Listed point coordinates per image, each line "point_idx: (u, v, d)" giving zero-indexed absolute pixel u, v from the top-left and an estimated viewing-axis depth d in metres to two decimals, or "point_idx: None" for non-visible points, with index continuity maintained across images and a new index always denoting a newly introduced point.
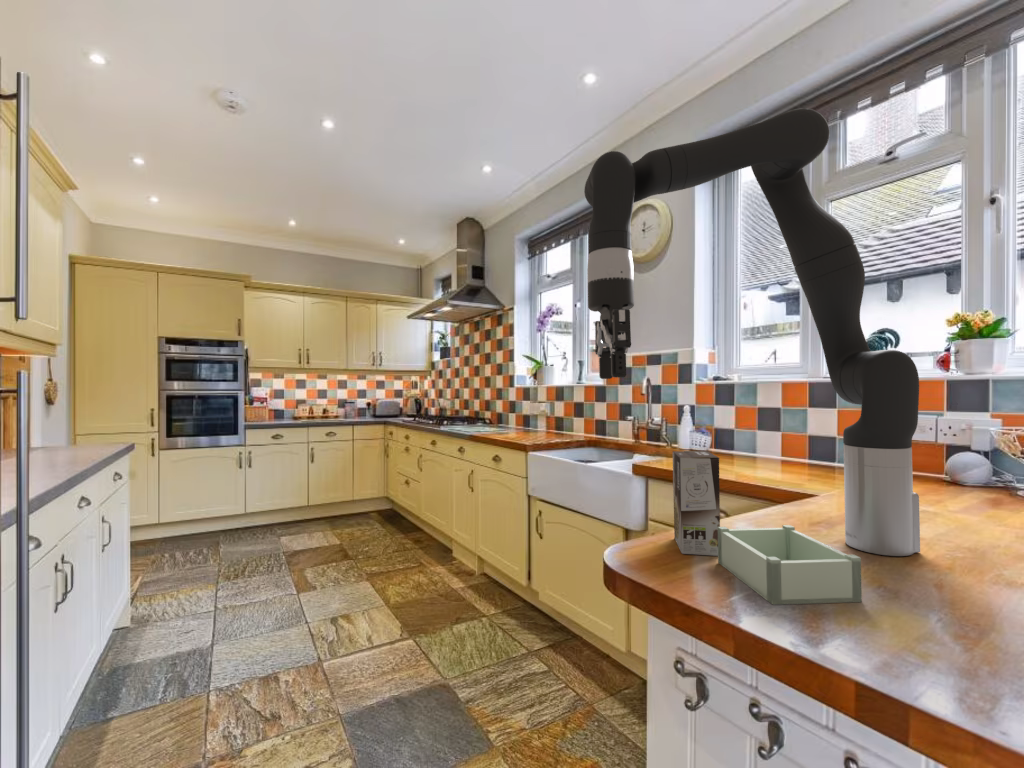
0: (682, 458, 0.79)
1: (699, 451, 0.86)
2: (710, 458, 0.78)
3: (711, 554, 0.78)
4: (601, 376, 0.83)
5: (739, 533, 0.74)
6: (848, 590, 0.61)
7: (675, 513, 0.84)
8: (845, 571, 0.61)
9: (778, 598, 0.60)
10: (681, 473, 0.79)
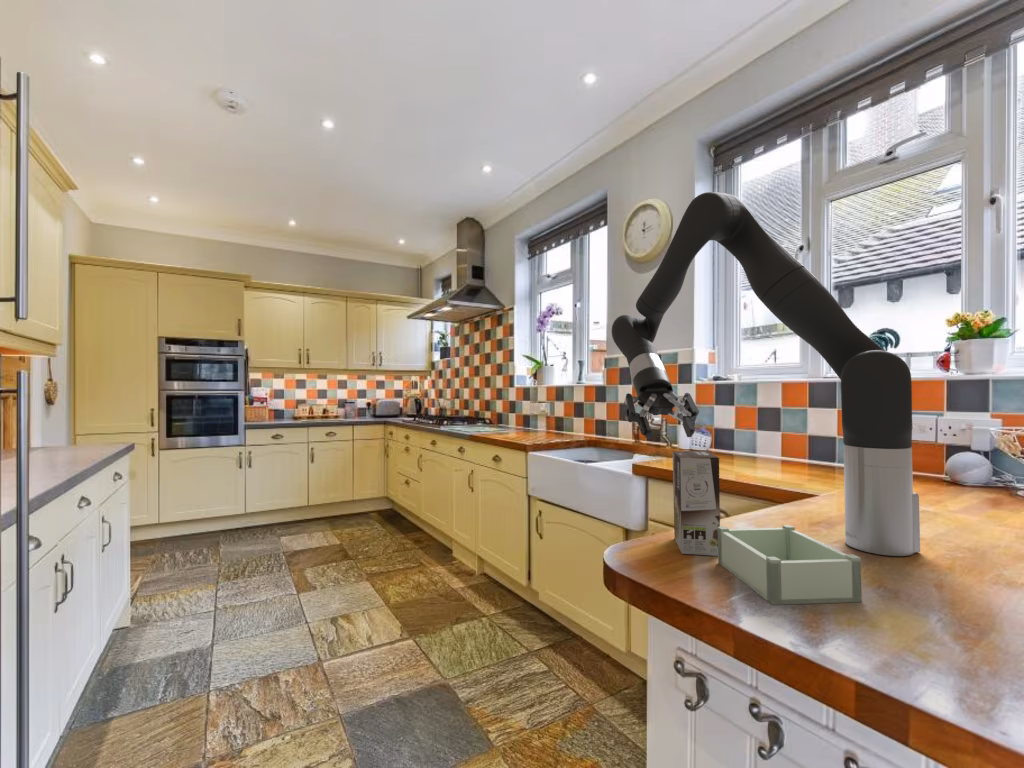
0: (682, 458, 0.79)
1: (699, 451, 0.86)
2: (710, 458, 0.78)
3: (711, 554, 0.78)
4: (687, 435, 0.95)
5: (739, 533, 0.74)
6: (848, 590, 0.61)
7: (675, 513, 0.84)
8: (845, 571, 0.61)
9: (778, 598, 0.60)
10: (681, 473, 0.79)
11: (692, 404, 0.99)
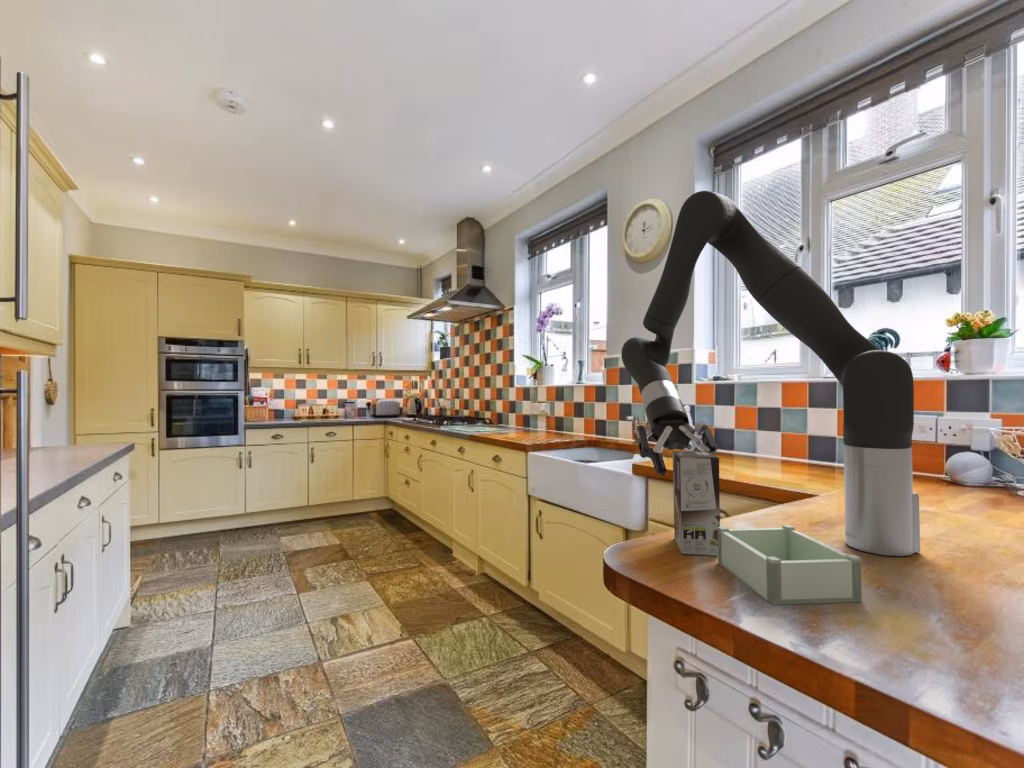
0: (682, 458, 0.79)
1: (699, 451, 0.86)
2: (710, 458, 0.78)
3: (711, 554, 0.78)
4: None
5: (739, 533, 0.74)
6: (848, 590, 0.61)
7: (675, 513, 0.84)
8: (845, 571, 0.61)
9: (778, 598, 0.60)
10: (681, 473, 0.79)
11: (711, 438, 0.91)
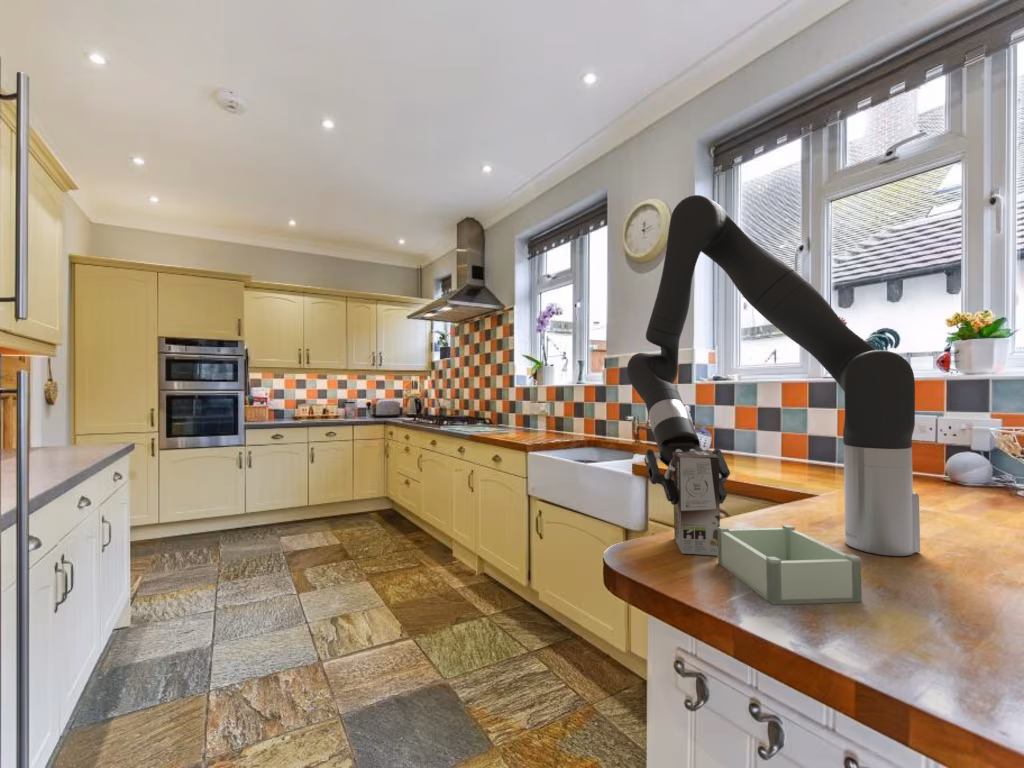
0: (682, 458, 0.79)
1: (699, 451, 0.86)
2: (710, 458, 0.78)
3: (711, 554, 0.78)
4: None
5: (739, 533, 0.74)
6: (848, 590, 0.61)
7: (675, 513, 0.84)
8: (845, 571, 0.61)
9: (778, 598, 0.60)
10: (681, 473, 0.79)
11: (723, 463, 0.85)
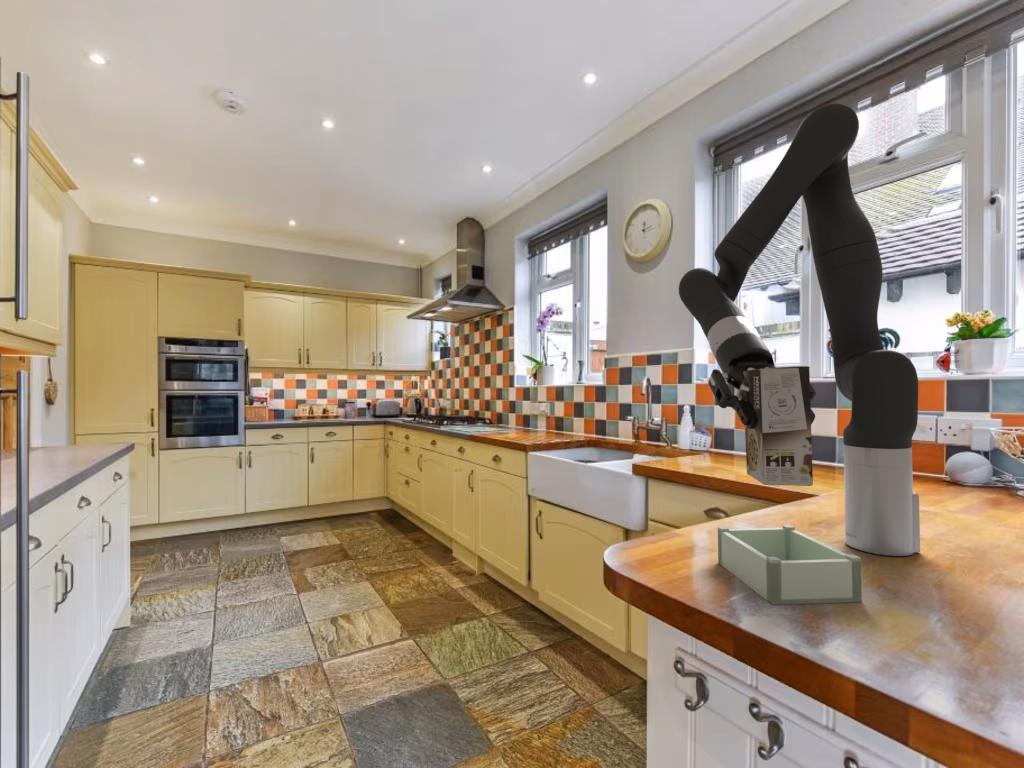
0: (763, 369, 0.65)
1: None
2: (798, 367, 0.64)
3: (802, 484, 0.64)
4: None
5: (739, 533, 0.74)
6: (848, 590, 0.61)
7: (750, 442, 0.70)
8: (845, 571, 0.61)
9: (778, 598, 0.60)
10: (762, 387, 0.65)
11: None
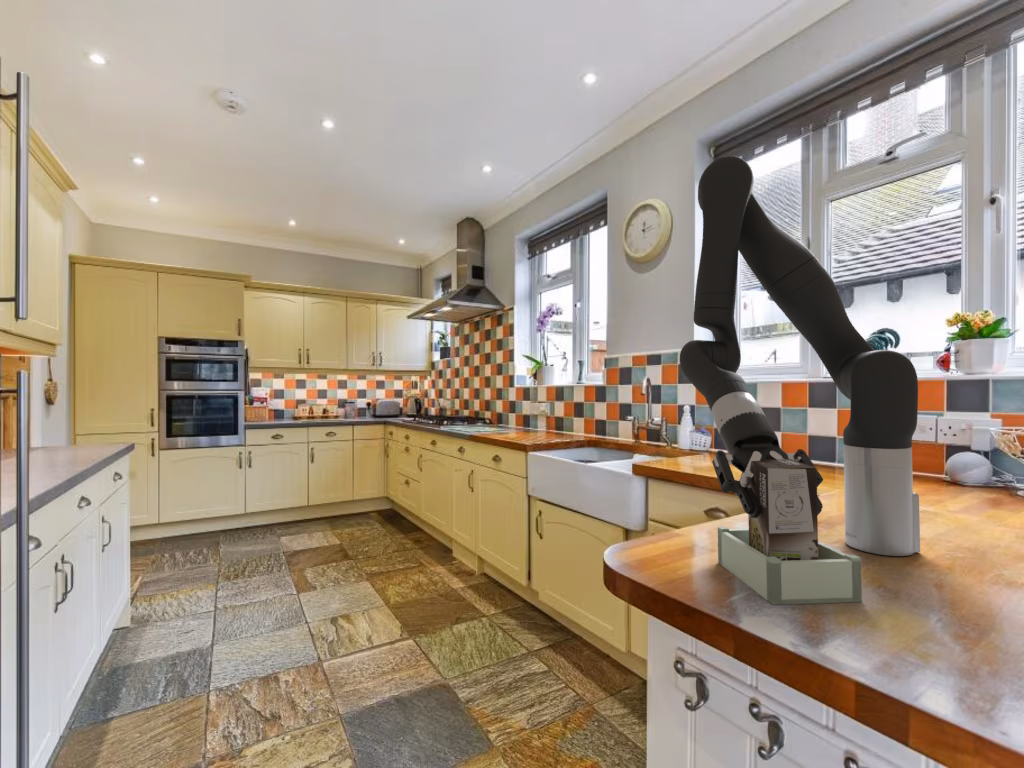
0: (770, 469, 0.64)
1: (781, 459, 0.71)
2: (806, 469, 0.64)
3: None
4: None
5: (739, 533, 0.74)
6: (848, 590, 0.61)
7: (754, 534, 0.70)
8: (845, 571, 0.61)
9: (778, 598, 0.60)
10: (769, 487, 0.64)
11: None
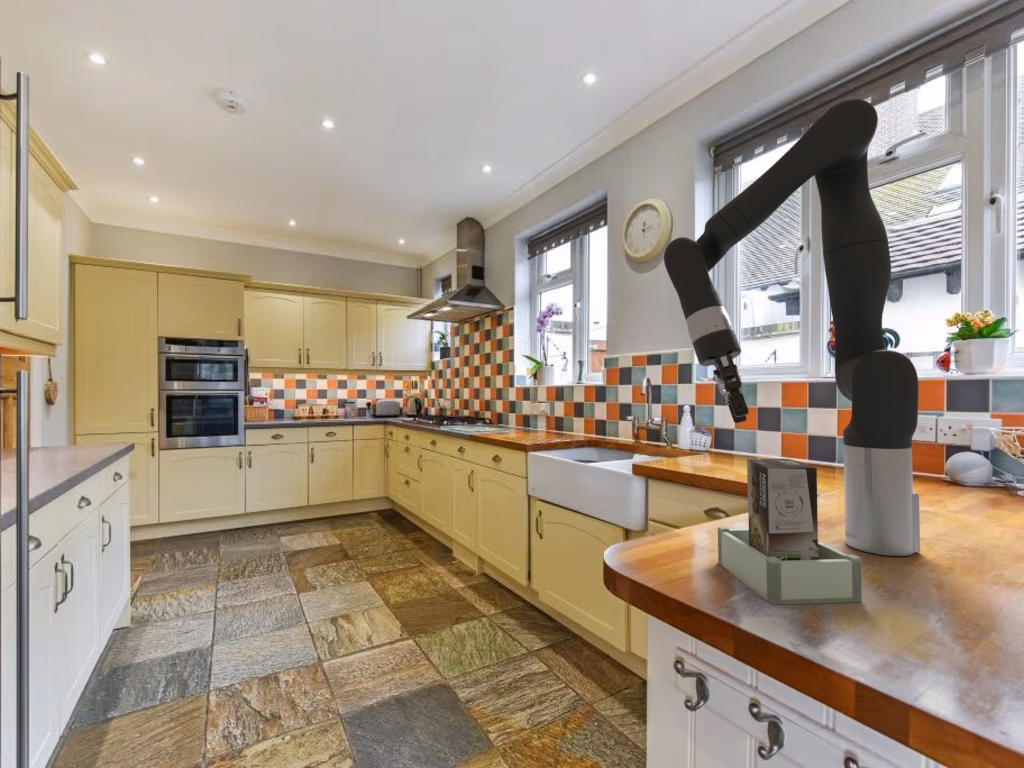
0: (770, 469, 0.64)
1: (781, 459, 0.71)
2: (806, 469, 0.64)
3: None
4: (735, 421, 0.88)
5: (739, 533, 0.74)
6: (848, 590, 0.61)
7: (754, 534, 0.70)
8: (845, 571, 0.61)
9: (778, 598, 0.60)
10: (769, 487, 0.64)
11: None
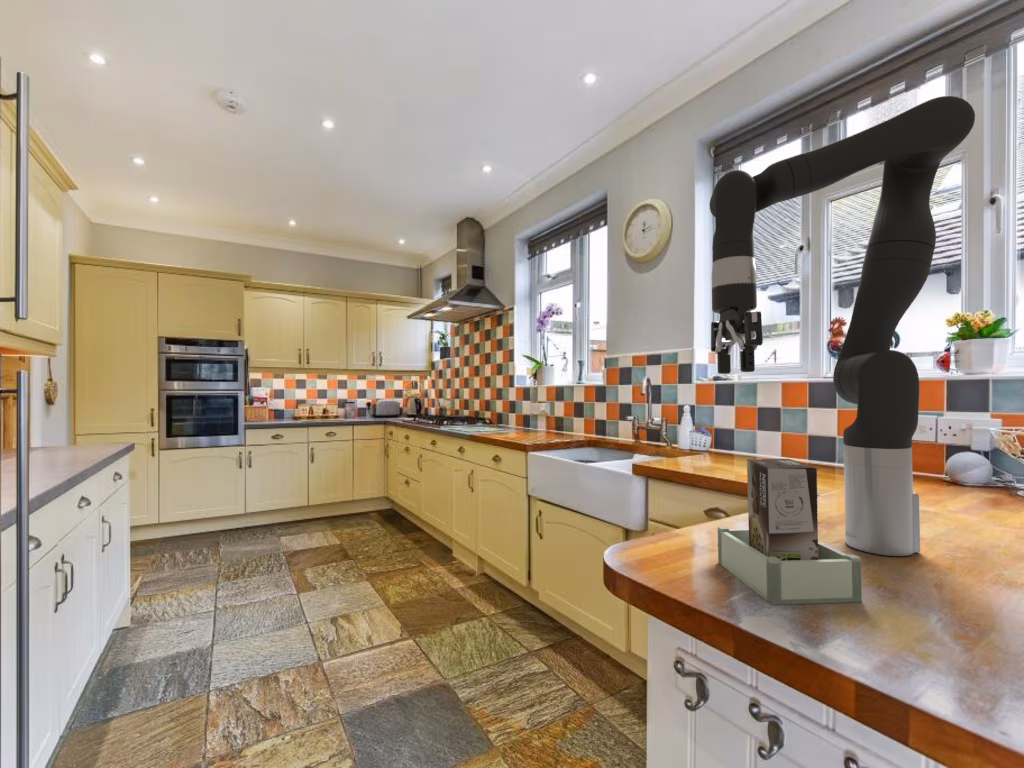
0: (770, 469, 0.64)
1: (781, 459, 0.71)
2: (806, 469, 0.64)
3: None
4: (720, 371, 0.92)
5: (739, 533, 0.74)
6: (848, 590, 0.61)
7: (754, 534, 0.70)
8: (845, 571, 0.61)
9: (778, 598, 0.60)
10: (769, 487, 0.64)
11: None
